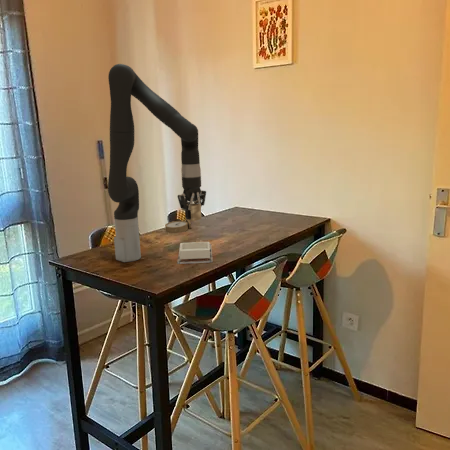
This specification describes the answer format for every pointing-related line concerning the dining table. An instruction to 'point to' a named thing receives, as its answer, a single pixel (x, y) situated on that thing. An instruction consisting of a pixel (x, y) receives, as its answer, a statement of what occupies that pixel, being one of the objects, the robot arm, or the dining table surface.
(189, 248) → the shallow white tray
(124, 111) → the robot arm
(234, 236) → the dining table surface
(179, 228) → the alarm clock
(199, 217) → the block
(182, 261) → the track
